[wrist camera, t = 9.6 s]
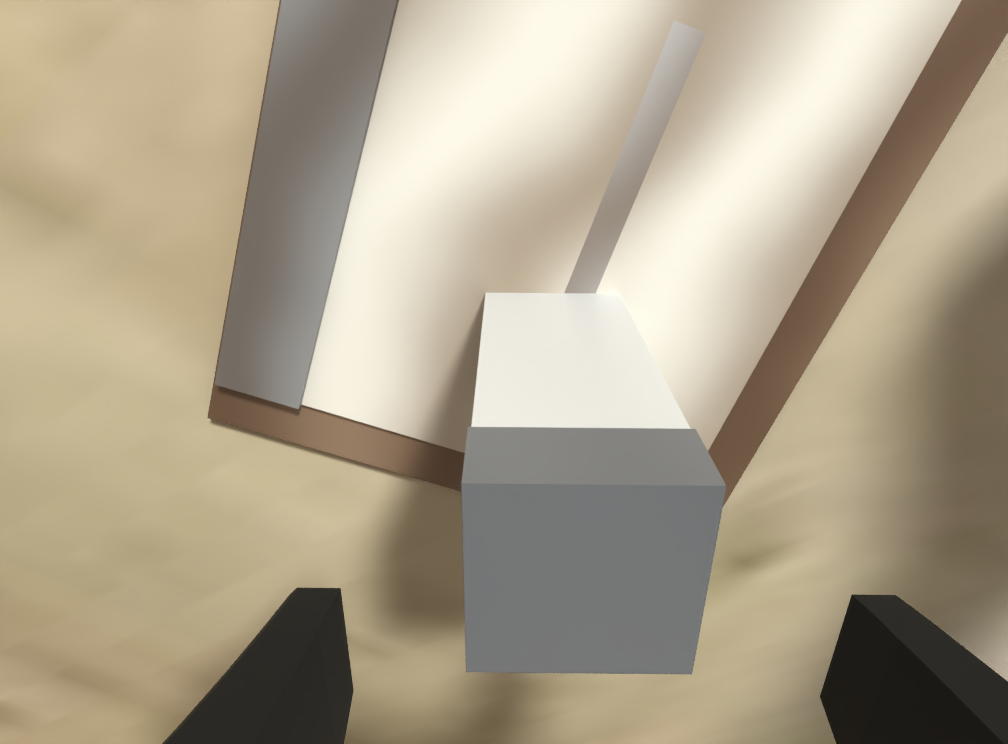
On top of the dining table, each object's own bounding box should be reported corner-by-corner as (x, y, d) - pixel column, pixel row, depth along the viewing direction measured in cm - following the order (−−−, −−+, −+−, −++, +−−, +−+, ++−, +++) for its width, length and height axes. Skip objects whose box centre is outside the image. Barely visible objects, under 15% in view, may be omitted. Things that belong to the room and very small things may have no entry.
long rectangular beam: (621, 291, 17) (725, 485, 9) (610, 413, 19) (691, 674, 10) (483, 290, 17) (461, 483, 9) (484, 412, 19) (466, 671, 10)
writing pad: (1042, -47, 14) (1075, -54, 13) (689, 549, 21) (696, 568, 21) (350, -368, 12) (339, -402, 11) (213, 411, 19) (200, 426, 18)
